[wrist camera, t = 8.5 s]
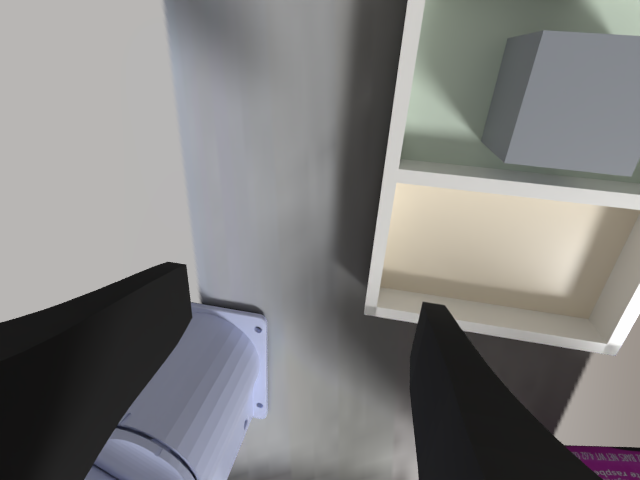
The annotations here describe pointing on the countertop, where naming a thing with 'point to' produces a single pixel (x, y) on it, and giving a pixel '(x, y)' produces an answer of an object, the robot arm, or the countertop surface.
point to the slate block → (568, 102)
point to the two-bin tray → (498, 192)
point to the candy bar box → (610, 461)
